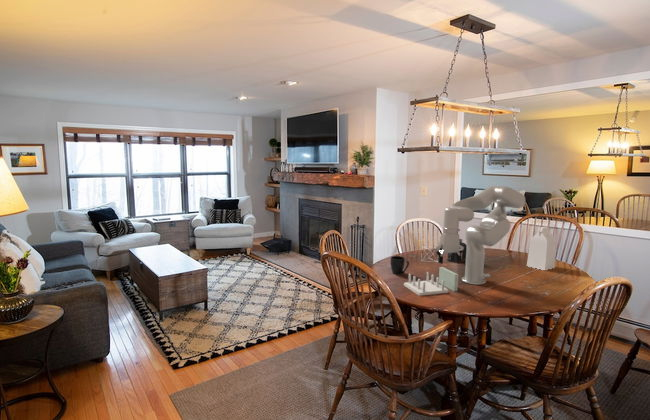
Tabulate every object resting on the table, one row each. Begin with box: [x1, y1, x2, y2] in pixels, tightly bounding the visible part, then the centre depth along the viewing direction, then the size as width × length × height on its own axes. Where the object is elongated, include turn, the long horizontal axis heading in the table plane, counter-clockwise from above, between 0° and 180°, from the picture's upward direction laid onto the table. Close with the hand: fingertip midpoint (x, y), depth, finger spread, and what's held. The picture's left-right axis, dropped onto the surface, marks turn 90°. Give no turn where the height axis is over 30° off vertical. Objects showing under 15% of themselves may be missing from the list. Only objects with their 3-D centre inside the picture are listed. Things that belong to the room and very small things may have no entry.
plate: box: [438, 266, 459, 292], centre depth 203 cm, size 14×2×9 cm, turn 17°
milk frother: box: [446, 238, 467, 263], centre depth 256 cm, size 14×16×15 cm
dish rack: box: [403, 271, 450, 296], centre depth 200 cm, size 17×16×6 cm
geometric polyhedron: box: [420, 245, 438, 263], centre depth 255 cm, size 12×11×9 cm
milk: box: [526, 226, 557, 271], centre depth 241 cm, size 12×12×26 cm
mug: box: [390, 255, 410, 275], centre depth 225 cm, size 8×12×10 cm
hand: (448, 262), depth 202 cm, fingers open, 9 cm apart
